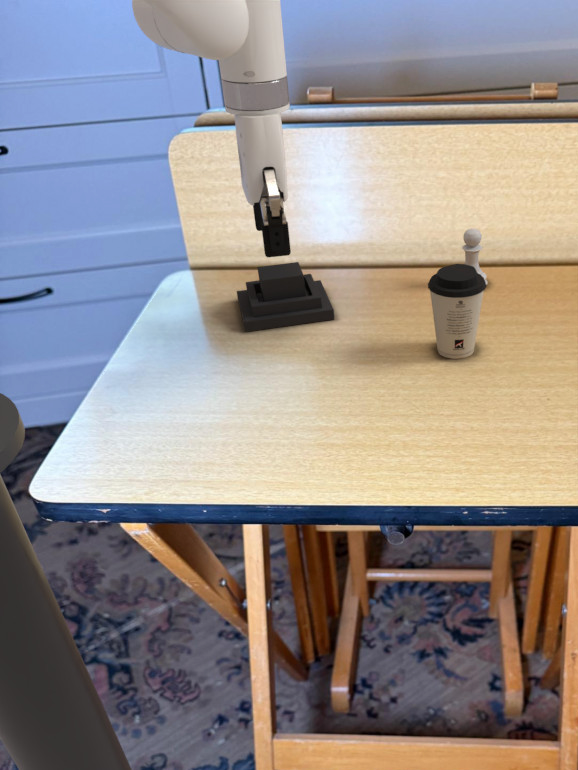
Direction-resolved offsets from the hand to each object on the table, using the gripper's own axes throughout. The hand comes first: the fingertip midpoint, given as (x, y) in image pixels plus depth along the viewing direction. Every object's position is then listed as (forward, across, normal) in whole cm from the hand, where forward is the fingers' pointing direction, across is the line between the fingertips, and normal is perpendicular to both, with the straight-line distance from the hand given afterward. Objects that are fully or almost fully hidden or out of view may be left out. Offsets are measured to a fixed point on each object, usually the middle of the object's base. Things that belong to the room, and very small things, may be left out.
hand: (272, 241), depth 103 cm
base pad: (+10, 0, +1) cm, 10 cm away
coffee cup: (+10, +18, +20) cm, 28 cm away
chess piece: (+9, 0, +28) cm, 29 cm away
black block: (+8, 0, +1) cm, 8 cm away
